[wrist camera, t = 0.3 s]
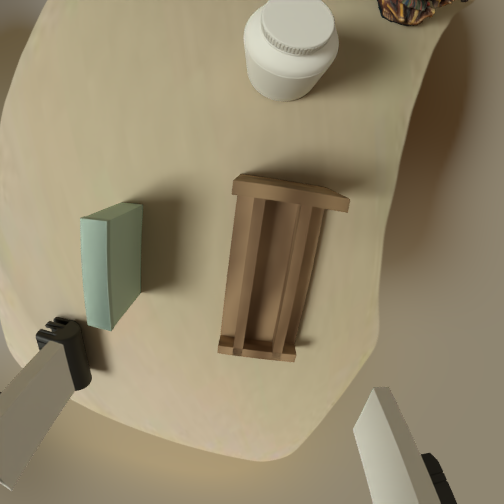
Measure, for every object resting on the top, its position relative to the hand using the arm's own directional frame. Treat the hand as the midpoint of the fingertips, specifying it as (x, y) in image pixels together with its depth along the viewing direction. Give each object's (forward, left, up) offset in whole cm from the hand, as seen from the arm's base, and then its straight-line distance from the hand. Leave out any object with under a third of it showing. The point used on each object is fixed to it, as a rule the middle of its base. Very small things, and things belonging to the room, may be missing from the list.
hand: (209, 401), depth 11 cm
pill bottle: (-20, +2, -27) cm, 34 cm away
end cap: (+22, -25, -27) cm, 43 cm away
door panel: (+4, -14, -27) cm, 31 cm away
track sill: (+4, +4, -27) cm, 27 cm away
